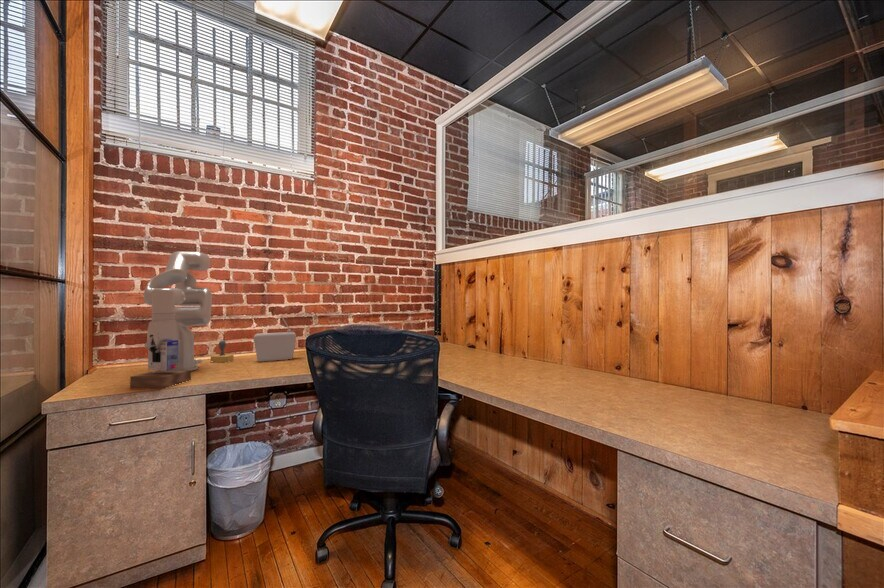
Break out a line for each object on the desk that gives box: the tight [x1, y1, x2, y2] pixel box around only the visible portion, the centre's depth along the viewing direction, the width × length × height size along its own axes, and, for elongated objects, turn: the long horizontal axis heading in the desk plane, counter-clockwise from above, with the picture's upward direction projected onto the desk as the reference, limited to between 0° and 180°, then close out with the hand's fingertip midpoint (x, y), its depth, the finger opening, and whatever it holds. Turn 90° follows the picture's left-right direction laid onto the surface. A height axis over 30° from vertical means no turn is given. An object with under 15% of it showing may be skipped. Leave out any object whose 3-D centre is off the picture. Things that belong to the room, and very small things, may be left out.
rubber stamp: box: [210, 339, 235, 363], centre depth 199 cm, size 10×6×12 cm, turn 86°
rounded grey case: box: [253, 316, 297, 363], centre depth 203 cm, size 22×8×25 cm, turn 116°
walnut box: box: [129, 370, 192, 390], centre depth 147 cm, size 14×14×5 cm
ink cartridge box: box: [147, 340, 178, 371], centre depth 148 cm, size 10×6×14 cm, turn 79°
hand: (163, 360), depth 148 cm, fingers closed on ink cartridge box, 5 cm apart
